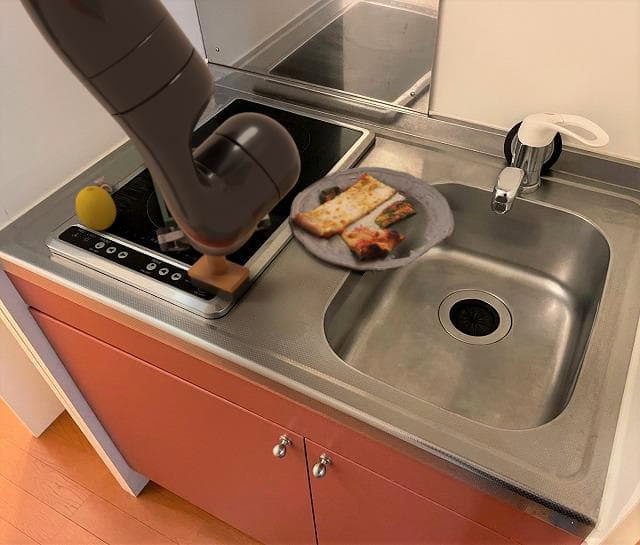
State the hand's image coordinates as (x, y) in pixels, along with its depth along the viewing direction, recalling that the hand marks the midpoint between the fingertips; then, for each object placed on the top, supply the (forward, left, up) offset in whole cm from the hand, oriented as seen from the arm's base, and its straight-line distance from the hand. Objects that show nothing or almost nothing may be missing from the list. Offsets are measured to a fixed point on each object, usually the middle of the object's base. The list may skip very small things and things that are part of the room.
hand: (210, 237), depth 75 cm
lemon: (-14, +18, -8) cm, 24 cm away
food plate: (+25, +4, -8) cm, 26 cm away
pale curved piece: (-13, +27, -8) cm, 31 cm away
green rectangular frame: (+3, +23, -8) cm, 24 cm away
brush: (0, -2, -7) cm, 8 cm away
